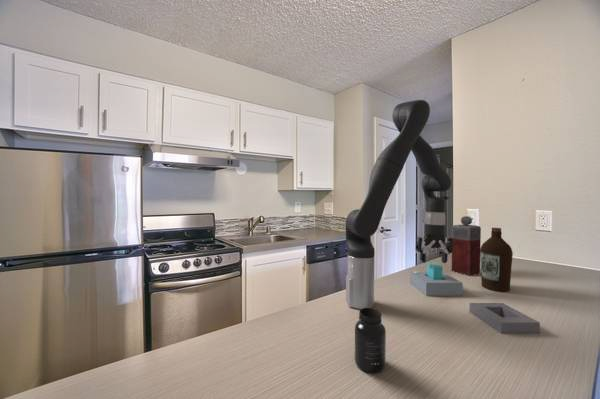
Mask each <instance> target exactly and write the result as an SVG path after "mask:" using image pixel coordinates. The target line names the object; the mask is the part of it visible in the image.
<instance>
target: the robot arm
mask: <svg viewBox="0 0 600 399" xmlns="http://www.w3.org/2000/svg"><path fill="white" fill-rule="evenodd" d="M430 111H431V108H430V104H429V103H428V102H427V100H423V99H417V100H411V101H405V102H402V103H398V104H396V105H395V107H394V108H393V111H392V114H391V115H392V116H391V117H392V122H393V124H394V126H395V128H396V130H397V131H398V133H399V134H397V136H396V138H395V139H393V141H392V142H390V143H389V144H388V145H387V146H386V147H385V148H384V149H383V150H382V151H381V153H380V154H378V157H377V159H376V161H375V163H374V165H373V167H372V169H371V173H370V176H369V183H368V190H367V194H366V196H365V199H364V201H363V203H362V204H361V206H360V207H359V209H358V208H357V209H353V210H351V211H350V212H349V213H348V214H347V216H346V220H345V245H346V249H347V274H346V275H345V301H346V304H347V306H348V307H349V308H355V309H357V310H361V309H363V308H373V307H375V258H376V257H375V253H376V252H375V247H374V246H373V243H372V240H371V239H372V238H371V237H372V236H373V235H374V234H376V232H377V231H378V229H379V226H380V223H381V221H382V217H383V214H384V212H385V208H386V205H387V204H388V200H389V198H390V197H391V195H392V192H393V190H394V188H395V186H396V184H397V181H398V180H399V177H400V176H401V173H402V171H403V169H404V166H405V164H406V162H407V159H408V157H409V156H410V153H412V154H413V156H414V158H415V161H416V163H417V165H418V168H419V171H420V172H421V173H422V175H424V177H422V179H421V188H422V191H423V195H424V196H423V197H424V200H425V214H424V225H423V226H424V231H423V233H424V236H422V237H421V236H416V238H415V239H416V240H415V251H416V252H418V253H419V261H421V263H424V264H426V260H427V259H426V258H427V255H426V253H427V252H428V251H430V249H439V250H440V251H441V252H442V253H441V262H442V264H446V263H447V262H448V255H449V254H450V253H451V254H452V252H453V239H452V237H449V236H447V237H445V236H446V213H445V212H446V199H444V198H442V197H439V196H436V195H435V193H434V192H440V193H441V192H448V190H450V188H451V186H452V179H451V177H450V175H449V173H448V172H447V171H446V170H445V168H443V166H442V165H441V164H440V162H439V159H438V156H437V154H436V152H435V150H434V148H433V146H431V145H430V144H429V143H428V142H427V141H426V140H425V139H424V138H423V137H422V136H421V133H422V131H423V130H424V129H425V126H426V125H427V122H428V120H429V118H430ZM423 242H424V243H423ZM444 243H445V244H446V245H445V244H444Z"/></svg>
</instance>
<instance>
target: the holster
mask: <svg viewBox="0 0 600 399" xmlns="http://www.w3.org/2000/svg"><path fill="white" fill-rule="evenodd" d="M468 311H469V313H471V314H472V315H473V316H475V317H477V318H478V319H479V320H481V321H482V322H484V323H485V324H487V325H488V326H489V327H491V328H492V329H494V330H495V331H496V332H498V333H500V334H540V332H541V331H540V329H541V322H539V321H538V320H536V319H534V318H532V317H531V316H528V315H526V314H525V313H523V312H521V311H519V310H517V309H515V308H513V307H512V306H509V305H507V304H506V303H504V302H469V310H468Z"/></svg>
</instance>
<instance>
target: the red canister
mask: <svg viewBox="0 0 600 399" xmlns="http://www.w3.org/2000/svg"><path fill="white" fill-rule="evenodd" d="M460 222H461V224H454V225H452V226H451V238H452V239H453V252H452V253H451V269H450V270H451V272H453V271H454V272H453V273H456V272H457V273H458V274H460V273H461V275H464V274H465V275H464V276H467V275H468V277H471V276H470V275H472V276H475V275H474V274H476V275H480V274H481V253H480V249H481V243H482V242H481V239H482V238H481V237H482V236H481V235H482V228H481V226H479V225H471V224H472V222H473V219H472V218H471V216H468V215H467V216H462V217H461V219H460ZM479 273H480V274H479Z"/></svg>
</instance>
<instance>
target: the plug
mask: <svg viewBox="0 0 600 399" xmlns="http://www.w3.org/2000/svg"><path fill="white" fill-rule="evenodd" d="M426 265H427V267H426V272H427V277H429V278H430V279H432V280H442V272H443V266H442V265H440V264H438V263H436V262H427V263H426Z"/></svg>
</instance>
